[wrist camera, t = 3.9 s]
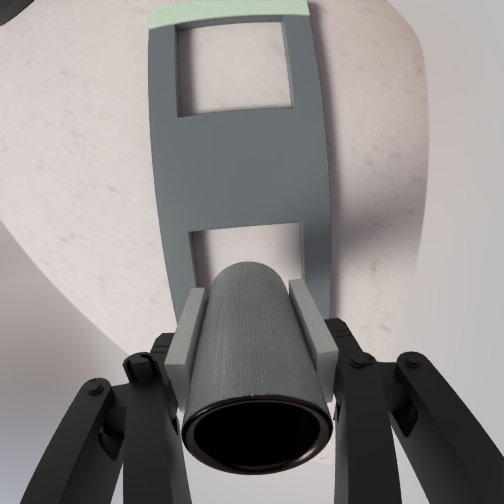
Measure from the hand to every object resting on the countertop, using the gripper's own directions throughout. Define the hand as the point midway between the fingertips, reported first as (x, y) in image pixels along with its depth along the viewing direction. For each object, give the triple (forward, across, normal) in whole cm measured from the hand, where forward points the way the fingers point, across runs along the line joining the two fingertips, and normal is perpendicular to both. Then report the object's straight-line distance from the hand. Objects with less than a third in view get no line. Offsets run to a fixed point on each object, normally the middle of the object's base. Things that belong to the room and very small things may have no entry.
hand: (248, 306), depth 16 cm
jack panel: (+6, 0, +7) cm, 10 cm away
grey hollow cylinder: (+1, 0, 0) cm, 1 cm away
